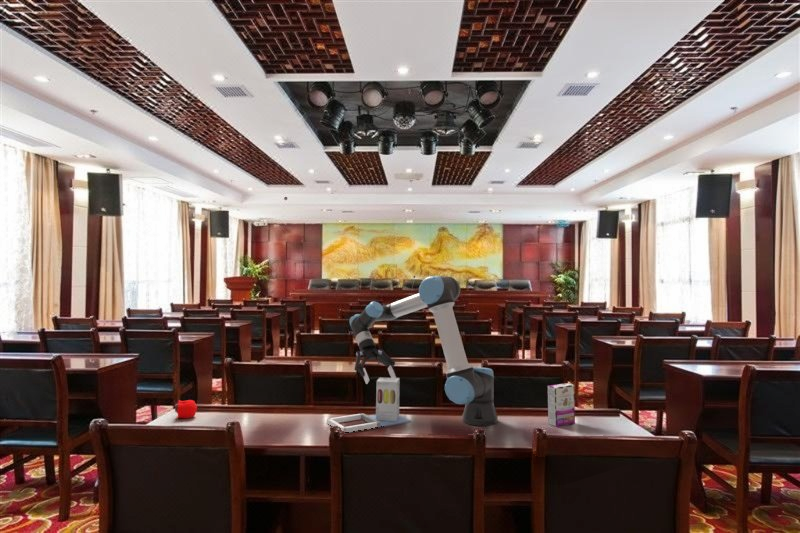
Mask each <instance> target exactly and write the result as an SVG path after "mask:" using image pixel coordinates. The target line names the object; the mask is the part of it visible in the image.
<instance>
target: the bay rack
mask: <svg viewBox="0 0 800 533" xmlns="http://www.w3.org/2000/svg"><path fill="white" fill-rule="evenodd" d="M360 420H363V421H364V420H365V422H366V423H361V424H355V425H349V426H344V425H342V424H341V423H344V422H345V423H346V422H351V421H360ZM407 423H412V419H410V418H407V417H405V416H402V415H401V414H399V417H398V419H397V421H383V420H376V414H369V415H368V414H366V413H364V412H363V413H362V412H361V413H357V414H355V413H354V414H349V415H343V416H336V417H329V418H326V424H327V425H328V424H329V425H328V426H330V425H331V426H338V427H340V428H341V430H342V431H344V432H349V433H354V432H353V431H355V432H359V431H358V430H361V431H365V430H364V429H367V430H372V429H371V428H373V429H376V428H375V427H378V428H383V426H384V427H389V426H390V427H391V426H395V425H401V424H402V425H403V424H407ZM331 426H330V427H331ZM381 426H382V427H381Z"/></svg>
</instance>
